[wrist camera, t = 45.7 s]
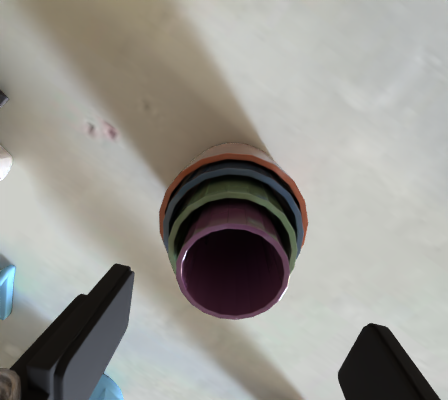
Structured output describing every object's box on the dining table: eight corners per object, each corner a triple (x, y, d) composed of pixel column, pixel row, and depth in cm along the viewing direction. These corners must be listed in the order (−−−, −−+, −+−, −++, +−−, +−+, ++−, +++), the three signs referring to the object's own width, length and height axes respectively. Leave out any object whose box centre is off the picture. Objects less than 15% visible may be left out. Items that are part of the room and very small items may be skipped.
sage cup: (246, 144, 22) (256, 165, 12) (282, 208, 24) (318, 273, 14) (182, 184, 24) (142, 233, 14) (221, 241, 26) (212, 321, 16)
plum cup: (243, 158, 22) (253, 201, 11) (271, 207, 24) (308, 292, 12) (193, 188, 24) (153, 257, 12) (223, 233, 25) (215, 333, 13)
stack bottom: (252, 120, 22) (261, 120, 15) (302, 211, 25) (331, 250, 17) (161, 178, 24) (129, 204, 17) (217, 255, 27) (210, 308, 20)
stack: (249, 131, 23) (259, 138, 14) (293, 209, 25) (326, 259, 16) (171, 180, 24) (134, 215, 15) (219, 248, 27) (211, 313, 18)
